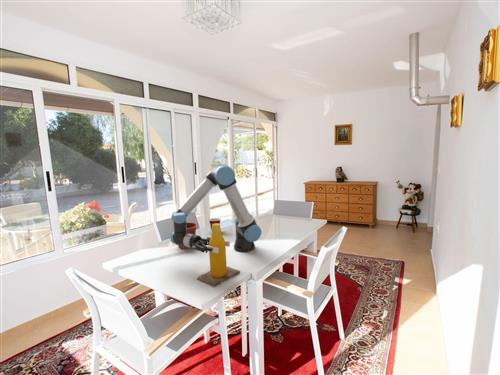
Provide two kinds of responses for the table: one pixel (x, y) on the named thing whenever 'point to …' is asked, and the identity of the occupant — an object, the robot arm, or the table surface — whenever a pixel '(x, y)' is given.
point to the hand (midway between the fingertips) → (223, 247)
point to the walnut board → (216, 281)
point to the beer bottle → (217, 259)
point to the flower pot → (189, 232)
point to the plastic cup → (214, 221)
